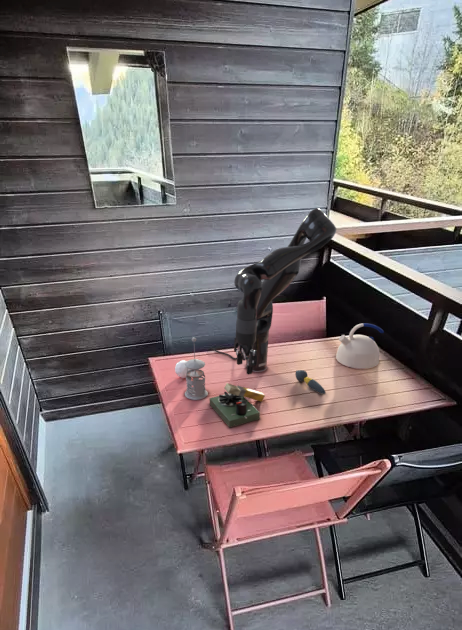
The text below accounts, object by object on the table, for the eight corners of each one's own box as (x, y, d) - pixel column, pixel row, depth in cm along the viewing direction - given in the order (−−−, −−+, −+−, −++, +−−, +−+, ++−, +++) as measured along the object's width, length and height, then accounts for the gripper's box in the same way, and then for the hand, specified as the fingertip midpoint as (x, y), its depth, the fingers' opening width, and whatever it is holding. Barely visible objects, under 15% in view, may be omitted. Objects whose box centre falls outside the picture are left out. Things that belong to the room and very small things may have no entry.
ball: (189, 382, 198) (197, 372, 192) (173, 380, 193) (180, 370, 187) (186, 368, 201) (194, 358, 195) (170, 365, 196) (178, 355, 190)
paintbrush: (330, 393, 186) (332, 382, 183) (322, 396, 183) (324, 386, 180) (297, 375, 198) (298, 365, 195) (289, 378, 196) (290, 368, 193)
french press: (190, 402, 179) (187, 344, 164) (179, 389, 187) (175, 333, 172) (211, 396, 183) (210, 340, 168) (200, 383, 191) (198, 329, 176)
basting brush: (228, 393, 169) (231, 386, 168) (224, 388, 172) (227, 381, 171) (262, 402, 179) (266, 396, 178) (258, 397, 182) (261, 391, 181)
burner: (214, 398, 176) (214, 394, 175) (234, 393, 179) (235, 389, 178) (224, 409, 169) (224, 405, 168) (245, 403, 173) (245, 399, 172)
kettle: (329, 351, 219) (335, 315, 208) (369, 349, 221) (377, 314, 210) (342, 370, 202) (349, 333, 192) (385, 368, 204) (394, 331, 194)
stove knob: (243, 408, 170) (244, 398, 167) (248, 414, 167) (248, 403, 164) (234, 411, 168) (234, 400, 165) (238, 416, 165) (239, 405, 162)
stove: (209, 404, 178) (209, 397, 176) (238, 397, 182) (238, 390, 181) (230, 429, 164) (230, 422, 162) (261, 420, 169) (261, 413, 167)
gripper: (228, 323, 164) (227, 362, 173) (245, 338, 153) (244, 379, 163) (246, 320, 166) (244, 359, 176) (264, 334, 156) (261, 375, 166)
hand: (244, 368), depth 170 cm, fingers open, 8 cm apart
